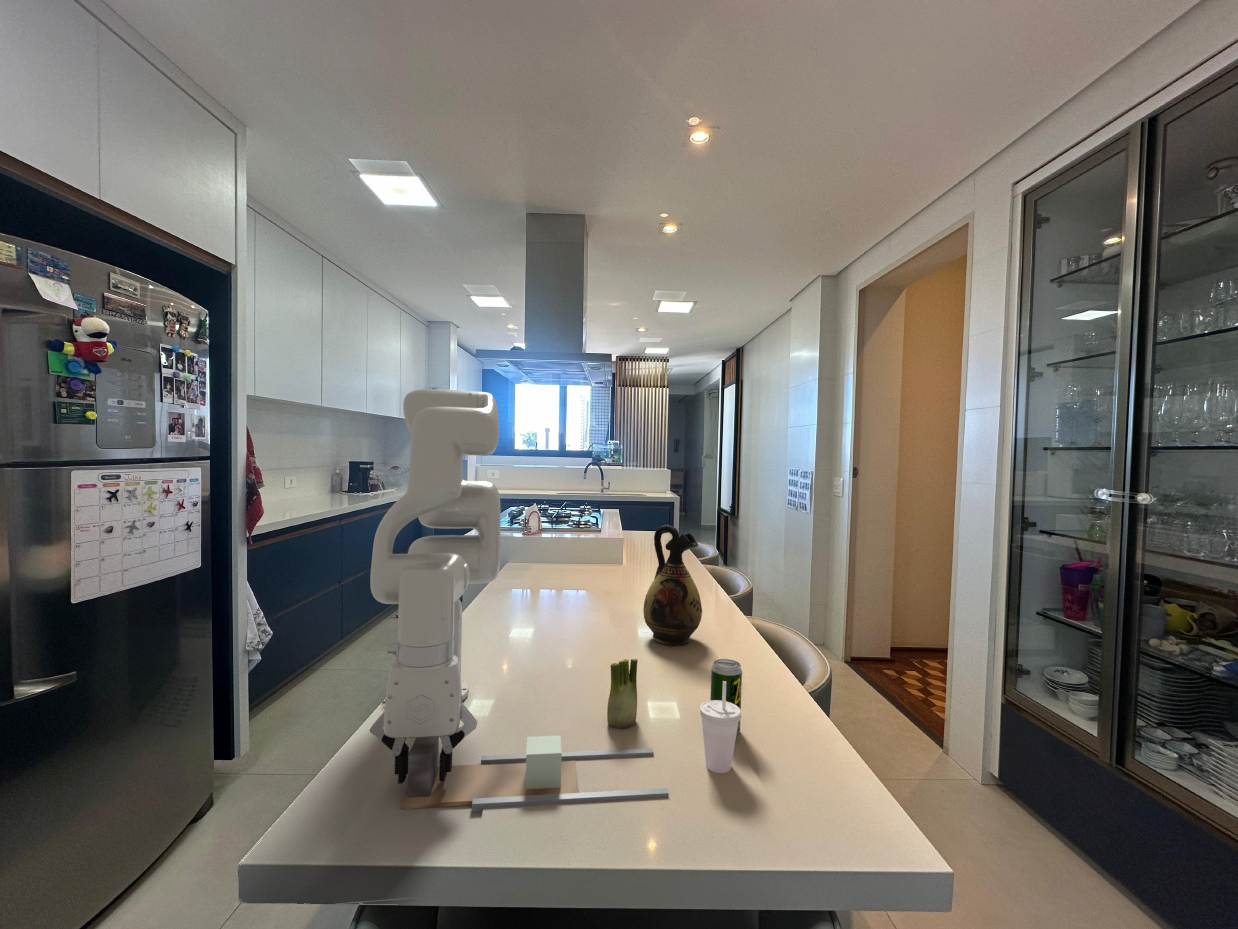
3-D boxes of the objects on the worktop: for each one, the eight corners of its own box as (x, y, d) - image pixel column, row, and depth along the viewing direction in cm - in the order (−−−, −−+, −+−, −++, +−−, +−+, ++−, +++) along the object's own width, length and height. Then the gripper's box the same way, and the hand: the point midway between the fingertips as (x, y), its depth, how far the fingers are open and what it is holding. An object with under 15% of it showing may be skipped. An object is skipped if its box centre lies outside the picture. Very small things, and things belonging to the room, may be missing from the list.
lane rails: (471, 812, 76) (472, 804, 76) (481, 763, 88) (481, 756, 88) (668, 801, 79) (668, 793, 79) (652, 755, 91) (652, 748, 91)
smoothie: (730, 787, 83) (733, 693, 83) (690, 773, 86) (693, 683, 86) (745, 767, 88) (748, 679, 88) (707, 754, 92) (709, 669, 92)
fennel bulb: (635, 719, 103) (637, 654, 103) (640, 732, 99) (642, 664, 98) (604, 721, 102) (605, 655, 102) (608, 734, 98) (610, 666, 97)
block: (525, 789, 80) (526, 754, 80) (526, 769, 85) (527, 736, 85) (560, 787, 81) (561, 753, 81) (559, 768, 86) (560, 735, 86)
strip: (400, 809, 76) (401, 760, 76) (415, 771, 85) (416, 728, 85) (579, 799, 79) (580, 752, 79) (575, 763, 88) (576, 722, 88)
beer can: (707, 735, 98) (709, 667, 98) (711, 721, 103) (713, 656, 103) (738, 740, 97) (740, 671, 96) (741, 726, 102) (743, 660, 102)
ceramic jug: (710, 637, 151) (714, 526, 150) (685, 654, 138) (689, 532, 137) (654, 625, 160) (658, 520, 159) (626, 640, 147) (629, 525, 146)
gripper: (354, 662, 75) (352, 796, 76) (484, 659, 78) (481, 790, 78) (371, 643, 83) (369, 765, 83) (489, 641, 85) (486, 760, 85)
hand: (423, 776), depth 81 cm, fingers open, 4 cm apart
